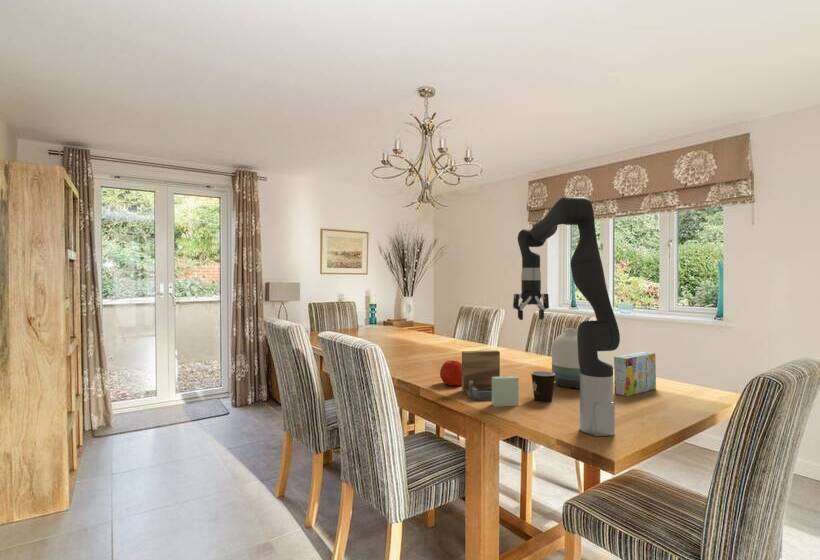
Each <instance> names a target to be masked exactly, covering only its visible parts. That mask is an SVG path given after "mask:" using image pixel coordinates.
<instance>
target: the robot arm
mask: <svg viewBox="0 0 820 560" xmlns="http://www.w3.org/2000/svg"><path fill="white" fill-rule="evenodd" d="M559 225H566V226H577V228H578V231H579V233H578V234H579V240H578V244H577V245H576V248H575V250H574V252H573V253H572V256H571V259H570V270H571V274H572V281H573V283H574V285H575V287H576V288H577V290H578V291H579V292H580V293H581V295H582V296H583V297H584V298H585V299H586V300H587V302H588V303H589V305H590V306H591V307H592V309H593V312H594V315H595V318H596V320H583V321H581V322H580V323H579V325H578V328H577V329H578V332H577V343H578V361H579V366H580V388H579V430H580V431H581V432H583V433H585V434H588V435H592V436H594V437H605V436H606V437H607V436H615V433H616V432H615V428H616V427H615V425H616V421H615V419H616V418H615V417H616V416H615V415H616V413H615V411H616V410H615V409H616V407H615V403H614V367H613V365H611V364H610V363H608V362H604V361H602V360H600V359H599V355H598V352H612V351H613V352H614V351H615V350H618V347H619V346H620V343H621V338H620V337H621V335H620V330H619V325H618V323H617V320H616V316H615V313H614V309H613V307H612V304H611V300H610V296H609V292H608V286H607V283H606V277H605V272H604V268H603V263H602V258H601V254H600V250H599V244H598V238H597V233H596V222H595V214H594V207H593V204H592V202H591V200H590V199H589V198H588V197H583V196H564V197H560V198H559V199H558V200H557V201H556V203H555V204H554V205H553V206H552V207H551V209H550V210H549V211H548V213H546V215H545V216H544V217H543V218H541V220H539V221H538V222H537V223H535V224H534V225H533V226H532V227H531V229H521V230H520V231H519V232H518V235H517V244H518V247H519V250H520V255H521V276H520V277H521V286H520V287H521V292H520V294H519V293H514V294H513V303H512V304H513V305H512V308H513V309H514V310H517V318H518V319H519V320H520V321H523V319H524V308H525V307H526V306H527V305H535V306H537V308H538V319H539V320H544V318H545V310H546V309H547V310H548V309H550V302H549V294H548V293H541V291H542V272H541V255H540V253H536V252H533V251H532V250H531V249H530V248H540V247H542V246H544V244H545V242H546V241H547V240H548V239H549V238H551V237H552V236H553V235H555V233H556V232H557V230H558V226H559ZM520 299H521V301H519V300H520ZM540 299H542V302H541V300H540Z"/></svg>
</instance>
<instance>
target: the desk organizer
mask: <svg viewBox="0 0 820 560" xmlns="http://www.w3.org/2000/svg"><path fill="white" fill-rule="evenodd" d="M500 354H501V353H500V351H499V350H497V349H496V350H469V351H468V350H467V351H466V350H464V351H461V364H462V385H461V391H462V392H463V393H465V394H466V395H467V396H468V397H469V398H471V400H472V401H492V377H501V376H500V374H501V371H500V370H501V369H500V368H501V367H500V366H501V365H500V364H501V363H500V360H501V359H500V357H501V356H500Z"/></svg>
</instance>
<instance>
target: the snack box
mask: <svg viewBox="0 0 820 560" xmlns="http://www.w3.org/2000/svg"><path fill="white" fill-rule="evenodd" d="M613 364H614V365H613V366H614V367H613V381H614V394H615V395H618V396H619V395H620V396H624V397H629V396H632V395H636V394H641V393H645V392H649V391H652V390H656V389H657V379H656V378H657V376H656V373H657V371H656V368H657V367H656V352H651V351H639V352H634V353H628V354H623V355H617V356H614V357H613Z"/></svg>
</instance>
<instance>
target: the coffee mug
mask: <svg viewBox="0 0 820 560" xmlns="http://www.w3.org/2000/svg"><path fill="white" fill-rule="evenodd" d="M554 380H555V373H552V371H547V370H534V371H531V381H532V382H531V383H532V390H533V399H534V401H536V402H538V401H539V402H540V403H551V402H552V401H553V395H554V386H555V381H554Z"/></svg>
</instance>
